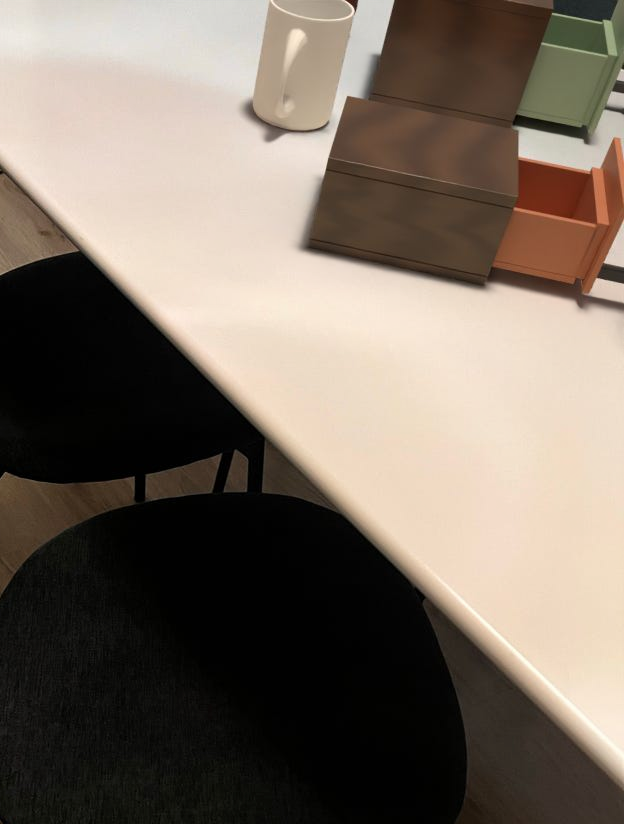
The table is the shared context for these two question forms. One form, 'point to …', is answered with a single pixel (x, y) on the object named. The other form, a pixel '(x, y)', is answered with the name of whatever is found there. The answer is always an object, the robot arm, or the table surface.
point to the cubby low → (417, 190)
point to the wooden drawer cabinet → (461, 56)
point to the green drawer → (576, 70)
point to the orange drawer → (566, 221)
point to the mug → (301, 62)
